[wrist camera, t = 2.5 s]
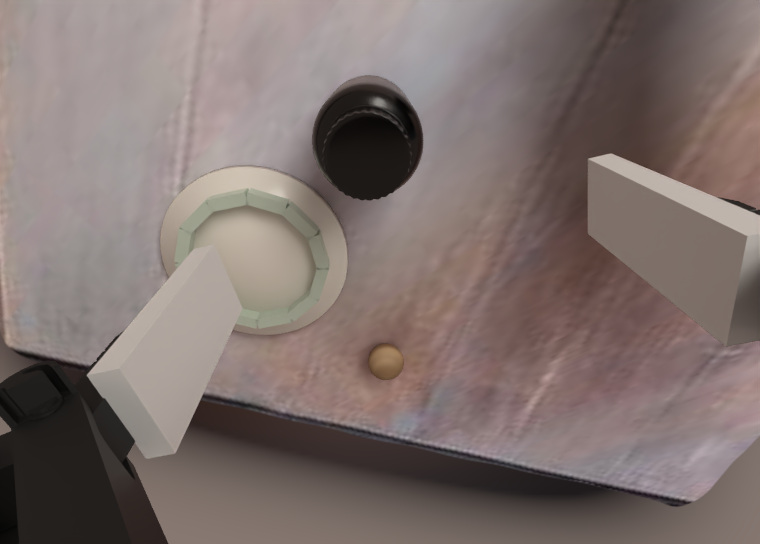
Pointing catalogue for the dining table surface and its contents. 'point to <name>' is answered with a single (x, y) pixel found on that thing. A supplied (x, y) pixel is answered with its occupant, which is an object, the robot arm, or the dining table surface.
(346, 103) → the supplement bottle
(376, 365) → the wooden bead
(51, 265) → the dining table surface
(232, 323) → the robot arm
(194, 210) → the plate
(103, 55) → the dining table surface
